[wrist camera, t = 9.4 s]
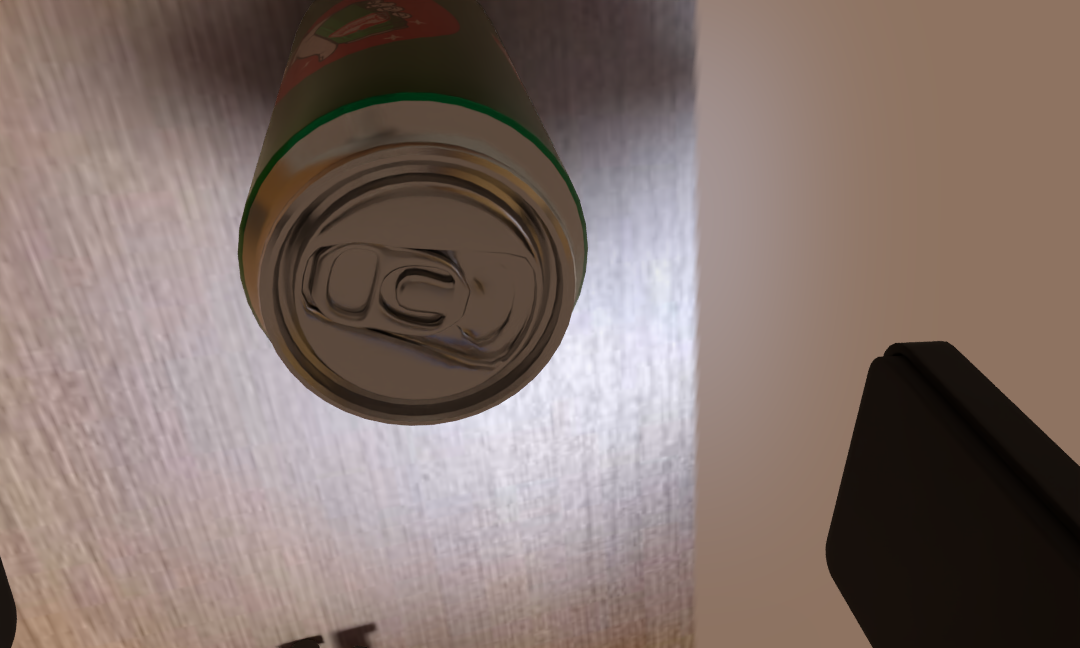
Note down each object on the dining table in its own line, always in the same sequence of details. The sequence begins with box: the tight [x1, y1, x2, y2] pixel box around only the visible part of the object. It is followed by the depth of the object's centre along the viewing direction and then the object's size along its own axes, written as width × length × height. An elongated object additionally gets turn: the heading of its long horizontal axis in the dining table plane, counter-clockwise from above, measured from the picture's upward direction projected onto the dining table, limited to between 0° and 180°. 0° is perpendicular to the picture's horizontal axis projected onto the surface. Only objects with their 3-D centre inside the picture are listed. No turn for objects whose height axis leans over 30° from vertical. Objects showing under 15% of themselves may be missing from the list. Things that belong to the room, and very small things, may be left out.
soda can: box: [238, 0, 588, 426], centre depth 18 cm, size 5×5×12 cm
